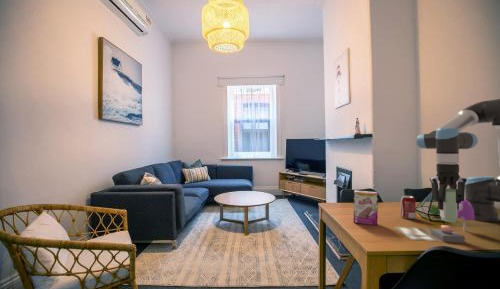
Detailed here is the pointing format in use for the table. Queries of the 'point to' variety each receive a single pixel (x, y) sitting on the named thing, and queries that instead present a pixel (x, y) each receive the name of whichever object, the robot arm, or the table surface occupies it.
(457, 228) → the table surface
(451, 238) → the button housing
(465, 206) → the toy
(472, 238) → the table surface
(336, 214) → the table surface
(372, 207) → the candy bar box
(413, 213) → the soda can
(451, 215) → the pale green block
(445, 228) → the button cap
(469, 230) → the table surface
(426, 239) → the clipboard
